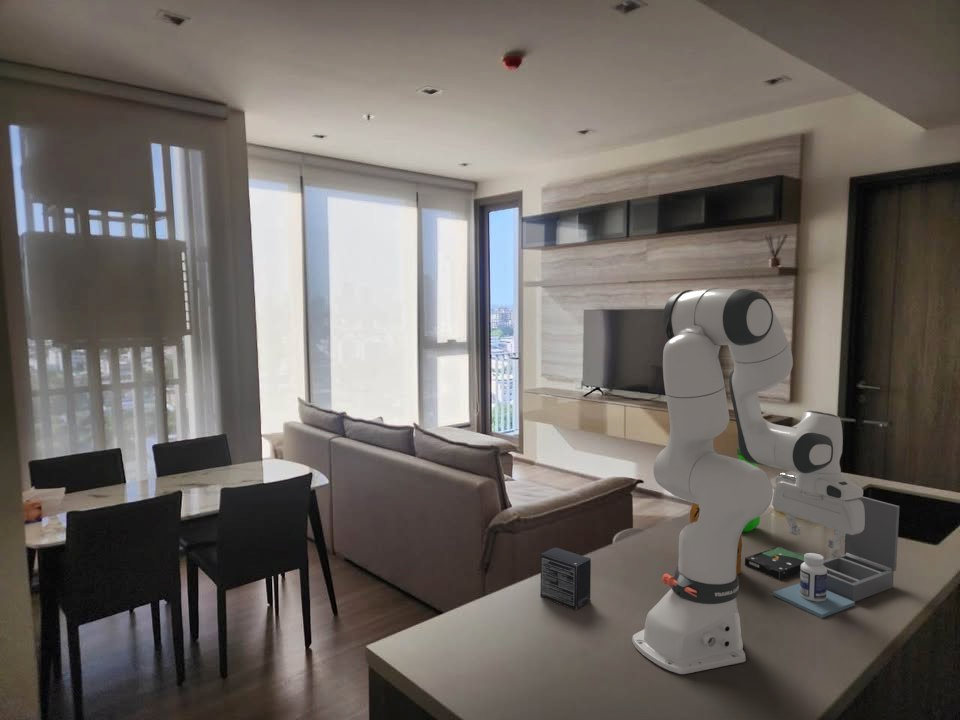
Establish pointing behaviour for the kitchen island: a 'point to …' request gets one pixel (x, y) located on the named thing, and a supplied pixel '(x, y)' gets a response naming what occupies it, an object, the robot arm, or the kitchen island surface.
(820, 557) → the pill bottle
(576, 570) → the small box
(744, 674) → the kitchen island surface
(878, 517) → the hinged lid box
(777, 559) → the disk drive
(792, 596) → the mat
